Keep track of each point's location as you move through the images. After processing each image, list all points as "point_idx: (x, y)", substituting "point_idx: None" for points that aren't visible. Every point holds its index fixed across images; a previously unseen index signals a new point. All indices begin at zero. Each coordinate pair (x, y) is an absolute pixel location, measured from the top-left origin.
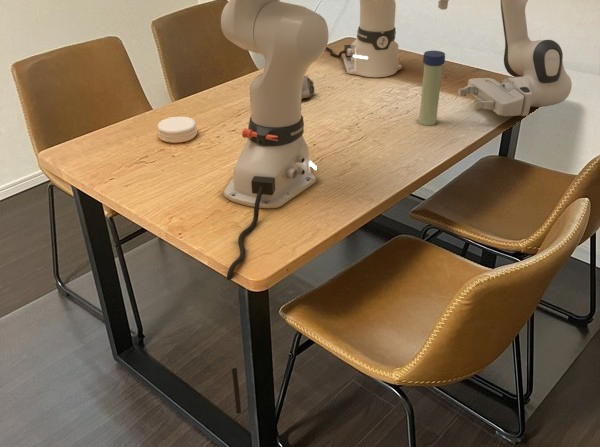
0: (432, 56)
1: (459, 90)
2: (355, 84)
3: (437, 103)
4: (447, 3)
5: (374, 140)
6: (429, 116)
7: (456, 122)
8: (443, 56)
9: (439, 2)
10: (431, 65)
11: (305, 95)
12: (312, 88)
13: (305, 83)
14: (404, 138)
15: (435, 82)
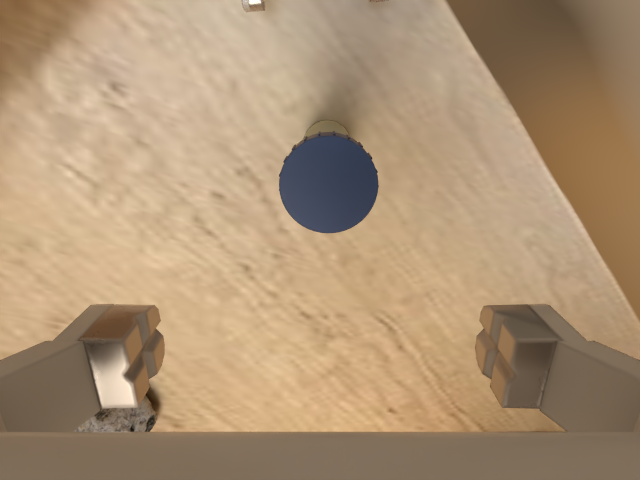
0: (367, 210)
1: (251, 8)
2: (27, 257)
3: (346, 132)
4: (572, 330)
5: (403, 300)
6: None
7: (346, 59)
8: (367, 154)
9: (522, 398)
10: None
11: (146, 401)
12: None
13: (117, 417)
14: (411, 234)
15: None
